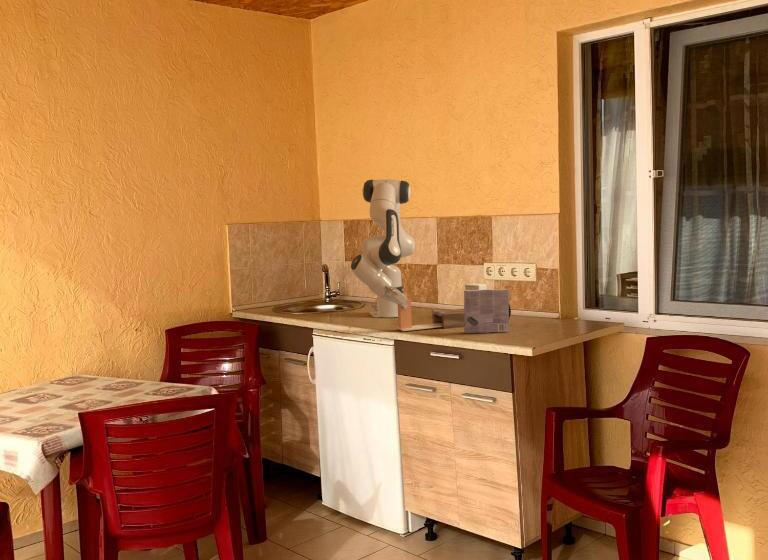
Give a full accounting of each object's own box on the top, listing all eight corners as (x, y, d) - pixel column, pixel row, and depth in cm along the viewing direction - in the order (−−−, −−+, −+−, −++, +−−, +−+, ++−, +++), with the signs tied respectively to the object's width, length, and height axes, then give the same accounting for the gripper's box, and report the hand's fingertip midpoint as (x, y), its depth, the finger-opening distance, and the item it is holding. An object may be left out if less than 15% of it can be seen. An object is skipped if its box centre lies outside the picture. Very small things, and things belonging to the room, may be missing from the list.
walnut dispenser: (432, 325, 360) (431, 309, 359) (469, 321, 366) (468, 306, 366) (444, 328, 348) (443, 313, 348) (482, 324, 355) (481, 309, 354)
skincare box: (464, 318, 378) (463, 284, 376) (473, 316, 383) (472, 282, 381) (479, 319, 372) (478, 285, 371) (488, 317, 377) (487, 283, 375)
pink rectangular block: (396, 328, 352) (395, 299, 350) (441, 324, 359) (440, 295, 358) (403, 331, 345) (401, 301, 343) (448, 326, 352) (447, 297, 351)
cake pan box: (511, 330, 337) (509, 287, 335) (512, 332, 332) (511, 289, 330) (464, 332, 338) (462, 289, 336) (465, 334, 333) (463, 291, 331)
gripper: (395, 282, 335) (418, 303, 339) (378, 278, 354) (400, 299, 358) (385, 293, 334) (409, 315, 338) (369, 289, 353) (391, 310, 357)
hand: (404, 306), depth 348 cm, fingers closed on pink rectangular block, 3 cm apart
